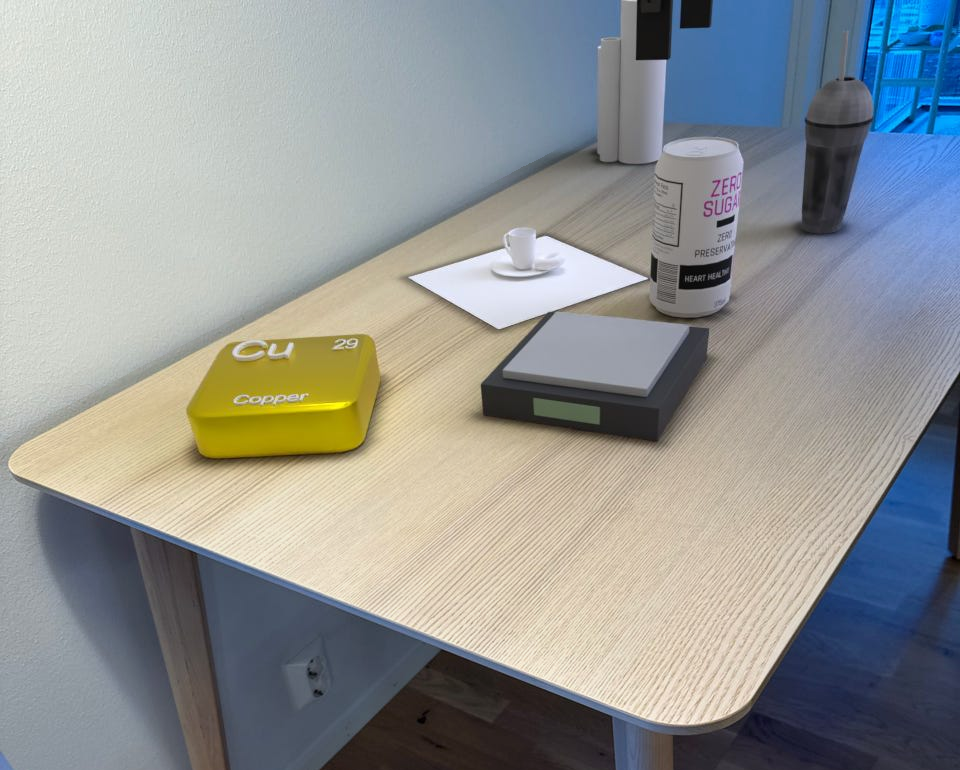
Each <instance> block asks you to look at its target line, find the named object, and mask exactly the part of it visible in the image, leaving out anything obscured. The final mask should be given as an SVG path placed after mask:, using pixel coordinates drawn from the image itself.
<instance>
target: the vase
mask: <svg viewBox="0 0 960 770" xmlns="http://www.w3.org/2000/svg"><path fill="white" fill-rule="evenodd" d="M636 22H637V0H620V32H619V33H620V35H619V37H617V36H615V37H611V36H610V37H604V38H601V39H600V45H599V46H597V117H596V118H597V121H596V122H597V123H596V124H597V125H596V127H597V130H596V131H597V132H596V134H597V135H596V136H597V137H596V138H597V139H596V141H597V142H596V146H597V147H596V152H597V154H598V155H599V161H600V162H603V163H614V162H620V163H623V164H627V165H643V164H650V163H654V162H658V160H659V158H660V156H661V154H662V152H663V139H664V138H663V137H664V136H663V135H664V116H665V95H666V77H667V75H666V73H667V72H666V71H667V60H636Z"/></svg>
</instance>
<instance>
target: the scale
mask: <svg viewBox="0 0 960 770" xmlns="http://www.w3.org/2000/svg"><path fill="white" fill-rule="evenodd" d="M709 336H710V328H709V327H698V326H692V325H691V326H690V324H685V323H674V322H666V321H665V322H664V321H656V320H655V321H654V320H646V319H645V320H644V319H635V318H626V317H618V316H617V317H616V316H604V315H596V314H586V313H577V312H569V311H568V312H566V311H558V310H556V312H555V311H552V312H548V313H546V314H544V316H543V317H542V318H541V319H540V320H539V321H538V322H537V323H536V324H535V325H534V326H533V327H532V329H531V330H530V331H528V333H527V334H526V335H525V336H524V337H523V338H522V339H521V340H520V341H519V342H518V343H517V344H516V346H515V347H514V348H513V349H512V350H511V351H510V352H509V353H508V354H507V355H506V356H505V357H504V358H503V360H502V361H501V362H500V363H499V364H498V365H497V366H496V367H495V368H494V369H493V370H492V371H491V372H490V373H489V375H488V376H486V378H484V380H482V382H481V383H480V392H481V394H480V395H481V405H482V415H484V416H489V417H495V418H502V419H508V420H514V421H521V422H529V423H535V424H541V425H548V426H554V427H561V428H567V429H573V430H574V429H575V430H580V431H581V430H582V431H587V432H592V433H593V432H594V433H600V434H607V435H613V436H620V437H626V438H632V439H633V438H634V439H640V440H647V441H653V442H658V441H659V439H660V437H661V435H662V434H663V432H664V431H665V429H666V427H667V426H668V424H669V422H670V420H671V419H672V418H673V415H674V414H675V412H676V411H677V409H678V408H679V405H680V404H681V402H682V400H683V399H684V397H685V396H686V394H687V392H688V390H689V388H691V385H692V384H693V382H694V381H695V379H696V377H697V375H698V374H699V372H700V370H701V368H702V367H703V366H704V364H705V362H706V360H707V358H708V348H709V338H710V337H709Z"/></svg>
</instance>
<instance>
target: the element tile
mask: <svg viewBox="0 0 960 770" xmlns="http://www.w3.org/2000/svg"><path fill="white" fill-rule="evenodd" d="M381 379H382V378H381V373H380V366H379V360H378V354H377V349H376V343H375V340H374V339H373V337H372V336H370V335H369V334H365V333H356V334H342V335H341V334H340V335H339V334H338V335H323V336H307V337H291V338H290V337H289V338H276V339H274V338H273V339H259V340H258V339H256V340H255V339H254V340H246V341H245V340H242V341H233V342H230V343H227V344H226V345H225V346H224V347H222V348H221V349H220V351H218V353H217V354H216V356H215V358H214V360H213V361H212V363H211V365H210V367H209V368H208V369H207V371H206V373H205V375H204V377H203V378H202V380H201V382H200V384H199V385H198V387H197V389H196V390H195V392H194V393H193V396H191V399H190V400H189V402H188V404H187V405H186V409H185V413H186V416H187V419H188V423H189V425H190V428H191V432H192V434H193V437H194V440H195V443H196V446H197V450H198V452H199V454H200V455H202V457H205V458H209V459H237V458H238V459H239V458H240V459H241V458H257V457H258V458H259V457H276V456H295V455H297V456H298V455H299V456H300V455H317V454H336V453H344V452H348V451H352V450H354V449H356V448H359V446H360V445H362V443H363V442H364V441H365V439H366V436H367V432H368V428H369V425H370V421H371V417H372V414H373V410H374V406H375V404H376V403H375V402H376V399H377V395H378V391H379V388H380V384H381Z"/></svg>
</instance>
